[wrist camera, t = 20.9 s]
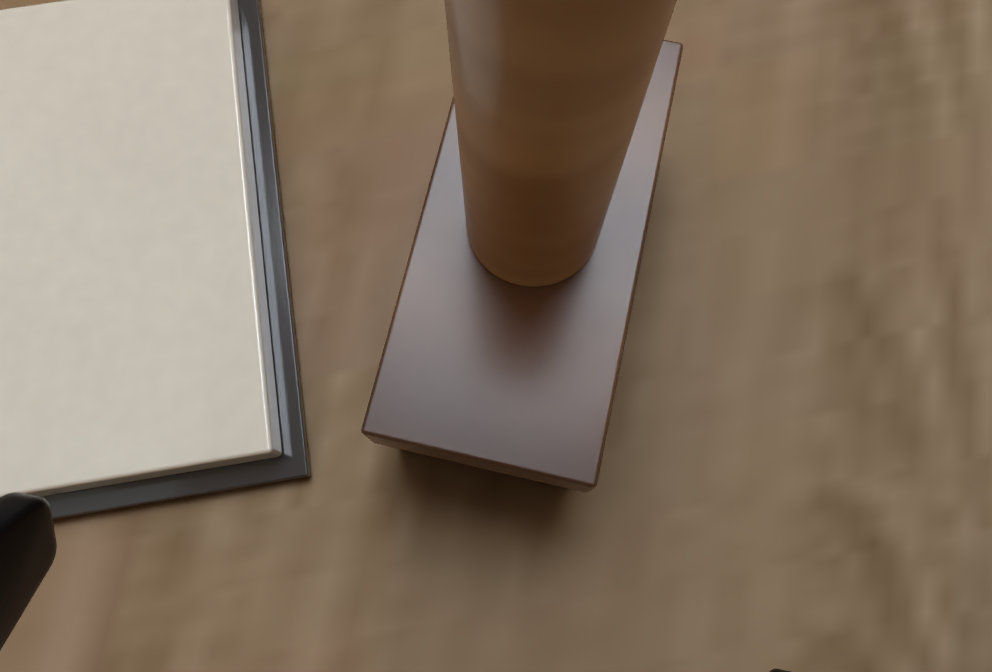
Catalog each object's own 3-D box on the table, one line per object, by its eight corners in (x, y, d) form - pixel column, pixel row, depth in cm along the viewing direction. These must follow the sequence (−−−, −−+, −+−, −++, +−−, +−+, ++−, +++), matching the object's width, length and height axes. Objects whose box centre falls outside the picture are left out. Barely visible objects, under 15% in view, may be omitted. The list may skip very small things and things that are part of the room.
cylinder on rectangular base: (576, 500, 18) (771, 385, 5) (385, 455, 18) (130, 240, 5) (651, 129, 20) (910, -568, 8) (482, 94, 20) (458, -636, 8)
